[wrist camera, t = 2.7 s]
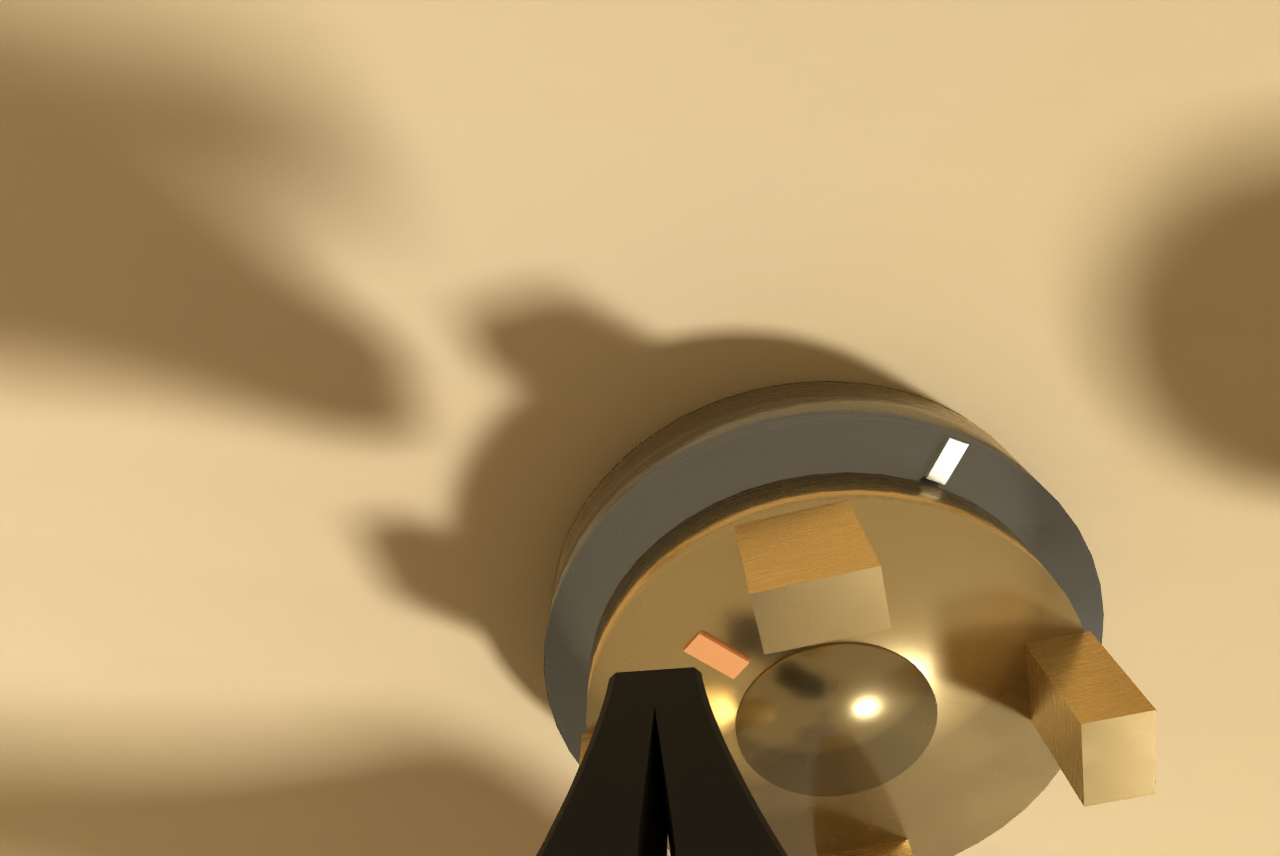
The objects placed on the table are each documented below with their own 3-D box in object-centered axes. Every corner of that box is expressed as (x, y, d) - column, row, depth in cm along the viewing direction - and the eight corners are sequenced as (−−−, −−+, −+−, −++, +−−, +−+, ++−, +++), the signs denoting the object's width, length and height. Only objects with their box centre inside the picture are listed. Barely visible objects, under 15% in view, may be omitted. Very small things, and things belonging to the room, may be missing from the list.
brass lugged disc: (794, 896, 19) (822, 1040, 16) (493, 678, 16) (461, 807, 13) (1150, 678, 16) (1261, 807, 13) (861, 368, 13) (923, 445, 10)
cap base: (775, 854, 22) (788, 928, 20) (450, 614, 18) (428, 675, 16) (1151, 614, 18) (1211, 675, 16) (839, 262, 15) (869, 288, 13)
